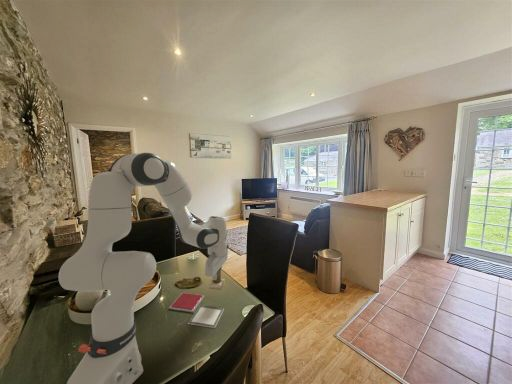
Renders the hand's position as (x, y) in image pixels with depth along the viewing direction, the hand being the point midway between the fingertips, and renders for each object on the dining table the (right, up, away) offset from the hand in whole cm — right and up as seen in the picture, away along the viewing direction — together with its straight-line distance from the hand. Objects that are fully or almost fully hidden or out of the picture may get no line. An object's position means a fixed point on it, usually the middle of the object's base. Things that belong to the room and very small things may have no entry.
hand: (217, 276), depth 104 cm
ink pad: (-14, -12, 0) cm, 19 cm away
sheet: (-3, -14, -10) cm, 17 cm away
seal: (-19, -11, +16) cm, 27 cm away
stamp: (0, -5, 0) cm, 5 cm away
